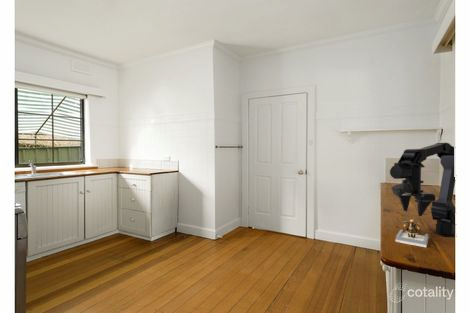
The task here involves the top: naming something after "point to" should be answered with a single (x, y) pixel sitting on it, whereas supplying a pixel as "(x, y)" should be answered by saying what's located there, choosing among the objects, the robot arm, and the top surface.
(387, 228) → the top surface
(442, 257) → the top surface
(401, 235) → the tray
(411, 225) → the figurine
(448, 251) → the top surface
